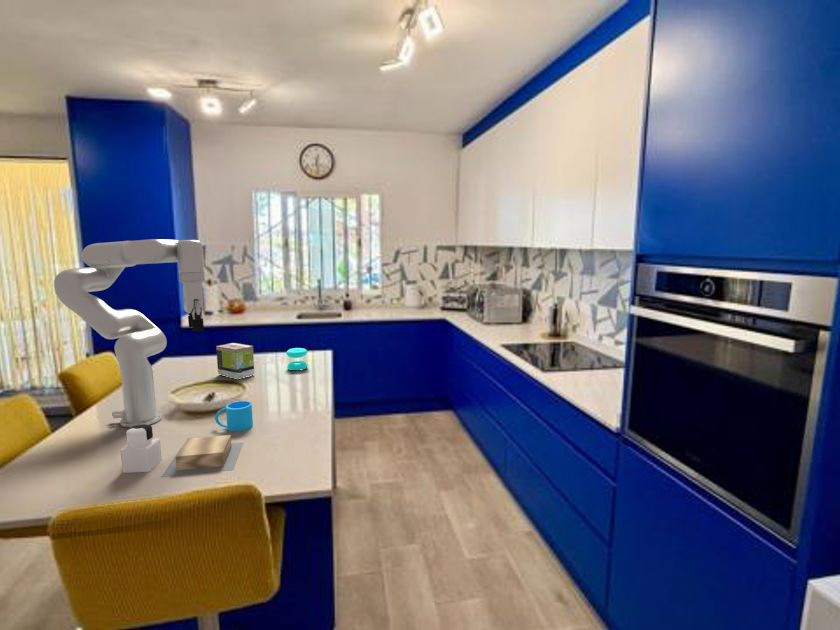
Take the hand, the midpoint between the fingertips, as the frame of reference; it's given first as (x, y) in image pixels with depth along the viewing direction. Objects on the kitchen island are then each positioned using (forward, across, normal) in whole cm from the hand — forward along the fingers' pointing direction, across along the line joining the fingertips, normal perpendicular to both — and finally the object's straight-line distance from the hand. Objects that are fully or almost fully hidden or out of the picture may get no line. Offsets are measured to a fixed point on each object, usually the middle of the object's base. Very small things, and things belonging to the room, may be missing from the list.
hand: (196, 328), depth 152 cm
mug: (+34, +9, +8) cm, 36 cm away
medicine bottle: (+34, +25, -19) cm, 46 cm away
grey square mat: (+34, +29, -4) cm, 45 cm away
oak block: (+33, +29, -4) cm, 45 cm away
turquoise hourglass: (+34, -52, +51) cm, 81 cm away
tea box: (+34, -57, +23) cm, 70 cm away
